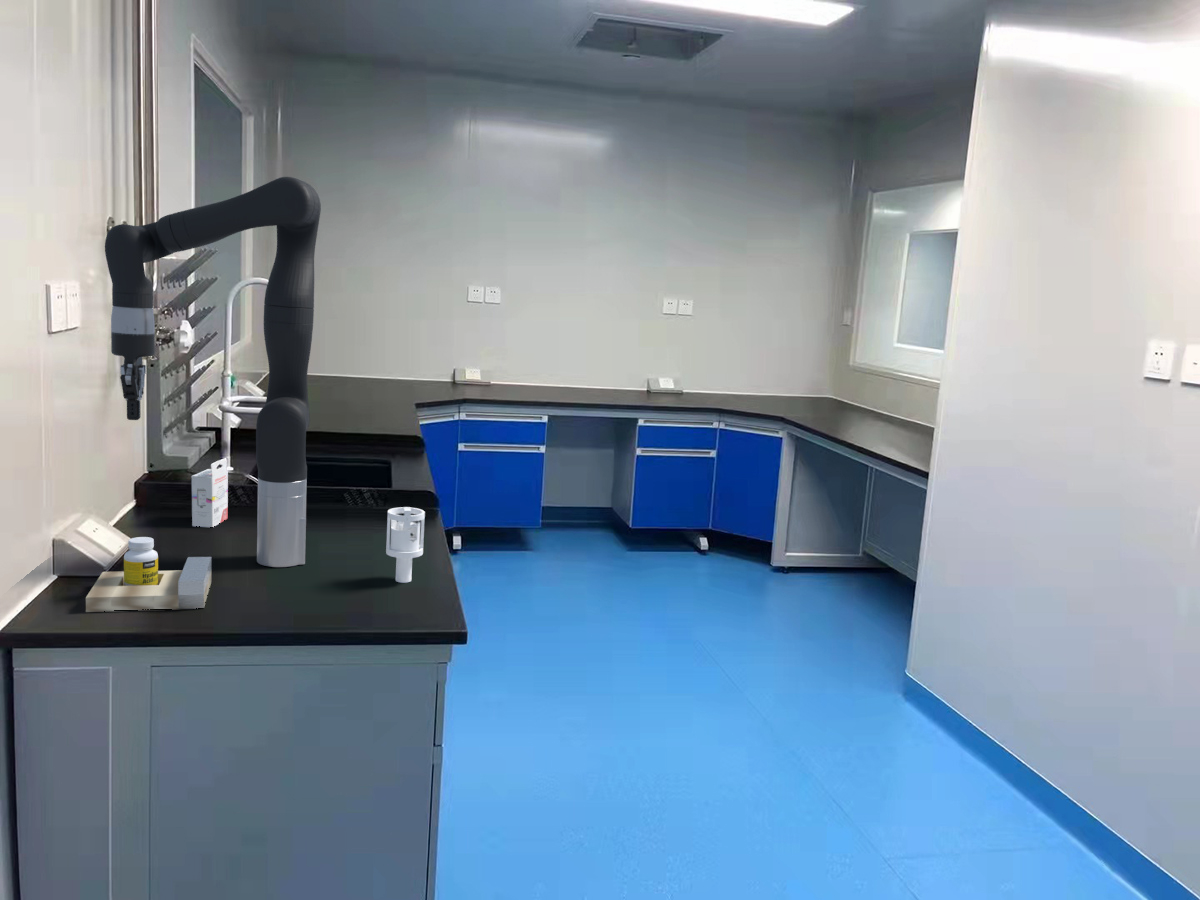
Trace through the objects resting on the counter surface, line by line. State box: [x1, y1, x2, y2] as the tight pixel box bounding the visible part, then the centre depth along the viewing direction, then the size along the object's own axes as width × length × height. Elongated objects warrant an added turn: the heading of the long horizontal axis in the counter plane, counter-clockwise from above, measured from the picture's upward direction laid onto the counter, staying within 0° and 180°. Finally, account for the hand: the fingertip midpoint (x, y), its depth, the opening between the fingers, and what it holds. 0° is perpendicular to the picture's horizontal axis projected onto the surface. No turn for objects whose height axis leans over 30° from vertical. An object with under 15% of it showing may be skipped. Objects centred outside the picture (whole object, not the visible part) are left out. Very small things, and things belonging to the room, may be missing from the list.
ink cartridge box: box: [191, 457, 229, 528], centre depth 211 cm, size 9×5×15 cm, turn 179°
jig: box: [85, 556, 212, 613], centre depth 162 cm, size 18×14×5 cm
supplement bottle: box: [123, 536, 159, 586], centre depth 163 cm, size 5×5×10 cm
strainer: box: [385, 506, 426, 584], centre depth 181 cm, size 7×7×15 cm
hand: (133, 419), depth 182 cm, fingers closed
